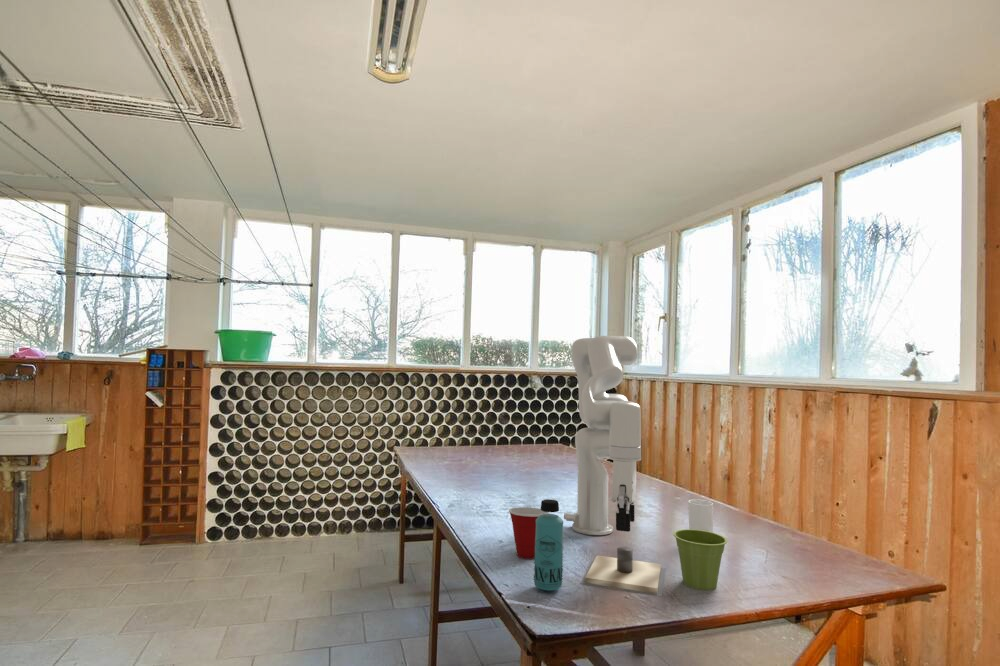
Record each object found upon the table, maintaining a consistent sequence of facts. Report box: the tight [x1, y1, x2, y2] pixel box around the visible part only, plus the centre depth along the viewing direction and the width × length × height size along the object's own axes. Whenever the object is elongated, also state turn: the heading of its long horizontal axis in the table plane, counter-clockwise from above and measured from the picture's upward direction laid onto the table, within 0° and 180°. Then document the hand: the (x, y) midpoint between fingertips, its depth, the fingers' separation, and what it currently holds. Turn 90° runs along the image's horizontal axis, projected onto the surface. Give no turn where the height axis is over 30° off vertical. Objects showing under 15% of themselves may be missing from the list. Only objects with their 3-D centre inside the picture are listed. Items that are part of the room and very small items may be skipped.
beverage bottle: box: [533, 498, 564, 591], centre depth 119 cm, size 6×7×20 cm
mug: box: [687, 499, 714, 533], centre depth 155 cm, size 10×7×12 cm, turn 149°
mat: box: [580, 557, 666, 598], centre depth 127 cm, size 18×18×1 cm
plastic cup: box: [508, 506, 550, 560], centre depth 142 cm, size 11×11×12 cm
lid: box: [585, 546, 662, 594], centre depth 127 cm, size 16×16×6 cm
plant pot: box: [672, 528, 728, 591], centre depth 123 cm, size 12×12×11 cm
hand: (625, 525), depth 127 cm, fingers open, 9 cm apart
